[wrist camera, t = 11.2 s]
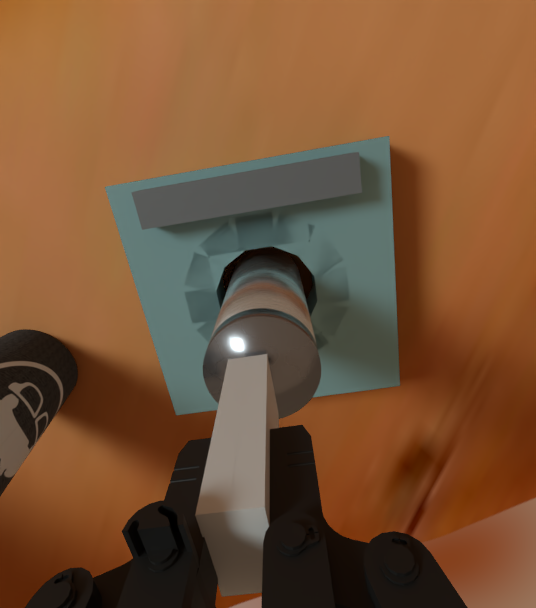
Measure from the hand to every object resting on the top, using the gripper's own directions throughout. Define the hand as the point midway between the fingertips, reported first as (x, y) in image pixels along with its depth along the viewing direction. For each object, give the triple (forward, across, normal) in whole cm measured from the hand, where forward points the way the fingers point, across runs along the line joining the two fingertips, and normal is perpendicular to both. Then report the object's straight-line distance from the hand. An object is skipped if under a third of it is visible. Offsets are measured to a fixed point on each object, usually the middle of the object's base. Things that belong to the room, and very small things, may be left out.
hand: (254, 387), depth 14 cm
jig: (+13, 0, 0) cm, 13 cm away
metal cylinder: (+13, 0, 0) cm, 13 cm away
